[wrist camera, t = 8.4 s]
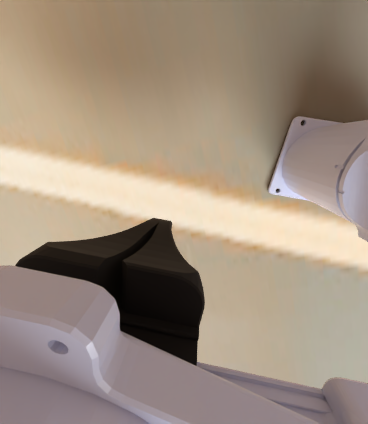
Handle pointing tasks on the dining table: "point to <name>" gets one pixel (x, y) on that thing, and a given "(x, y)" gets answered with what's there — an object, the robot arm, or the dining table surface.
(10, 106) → the dining table surface
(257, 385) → the robot arm
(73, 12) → the dining table surface
